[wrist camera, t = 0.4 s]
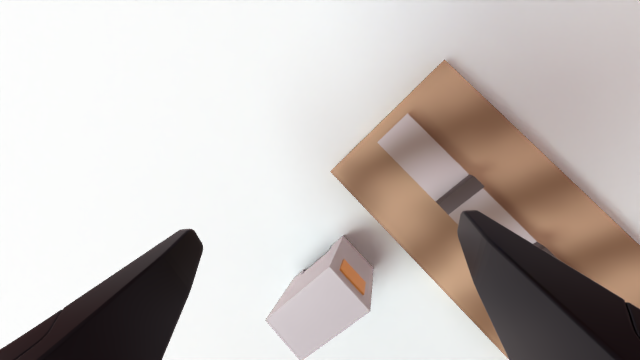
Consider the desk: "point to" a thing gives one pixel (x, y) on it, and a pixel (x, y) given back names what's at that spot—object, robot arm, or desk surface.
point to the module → (323, 299)
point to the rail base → (478, 192)
